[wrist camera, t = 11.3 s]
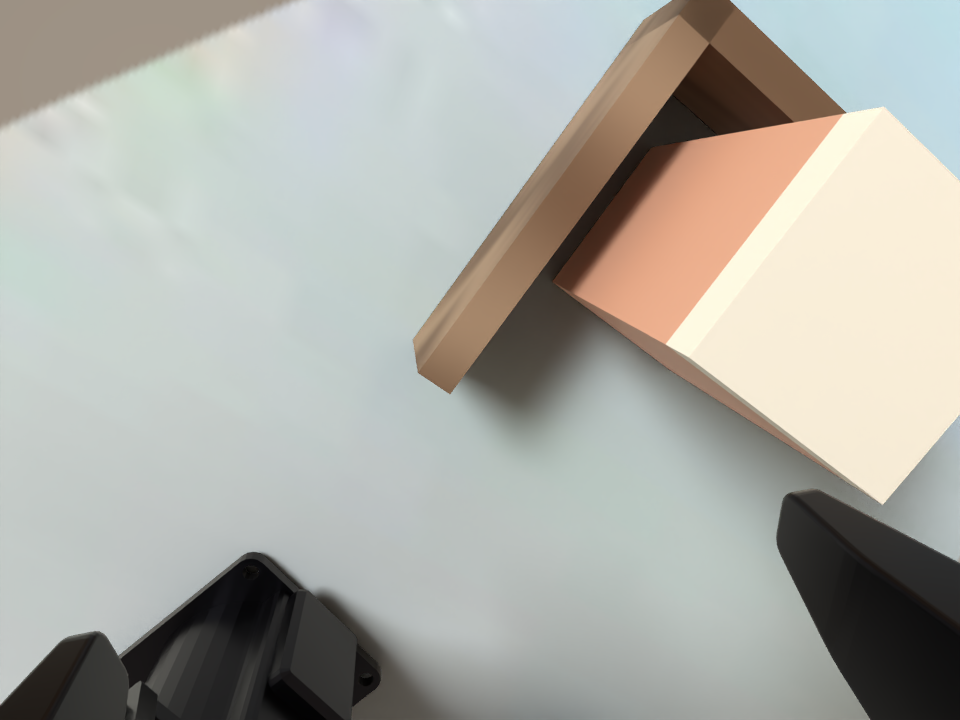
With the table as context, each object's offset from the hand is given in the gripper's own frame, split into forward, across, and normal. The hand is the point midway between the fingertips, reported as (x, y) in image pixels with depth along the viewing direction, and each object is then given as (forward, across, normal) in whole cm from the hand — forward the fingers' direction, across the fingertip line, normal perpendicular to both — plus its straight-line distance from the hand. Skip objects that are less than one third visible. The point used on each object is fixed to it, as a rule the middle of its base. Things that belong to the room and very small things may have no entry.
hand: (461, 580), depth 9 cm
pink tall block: (+13, -8, +2) cm, 15 cm away
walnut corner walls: (+13, -7, +2) cm, 15 cm away
